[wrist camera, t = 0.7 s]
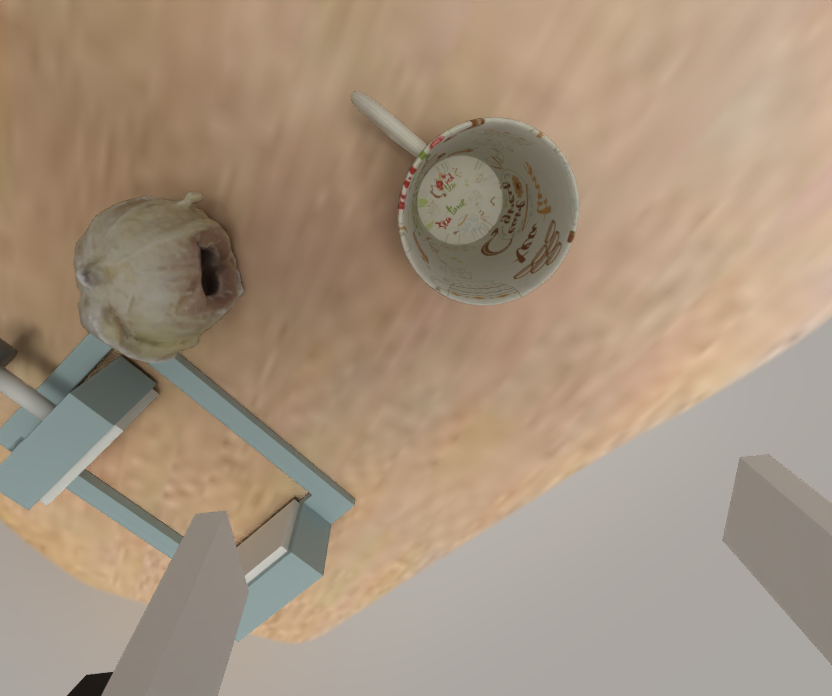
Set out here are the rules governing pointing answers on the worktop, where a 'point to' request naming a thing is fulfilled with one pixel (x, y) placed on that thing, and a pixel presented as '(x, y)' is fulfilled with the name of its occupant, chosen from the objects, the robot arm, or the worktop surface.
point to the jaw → (68, 427)
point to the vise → (297, 522)
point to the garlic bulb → (154, 276)
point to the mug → (482, 206)
